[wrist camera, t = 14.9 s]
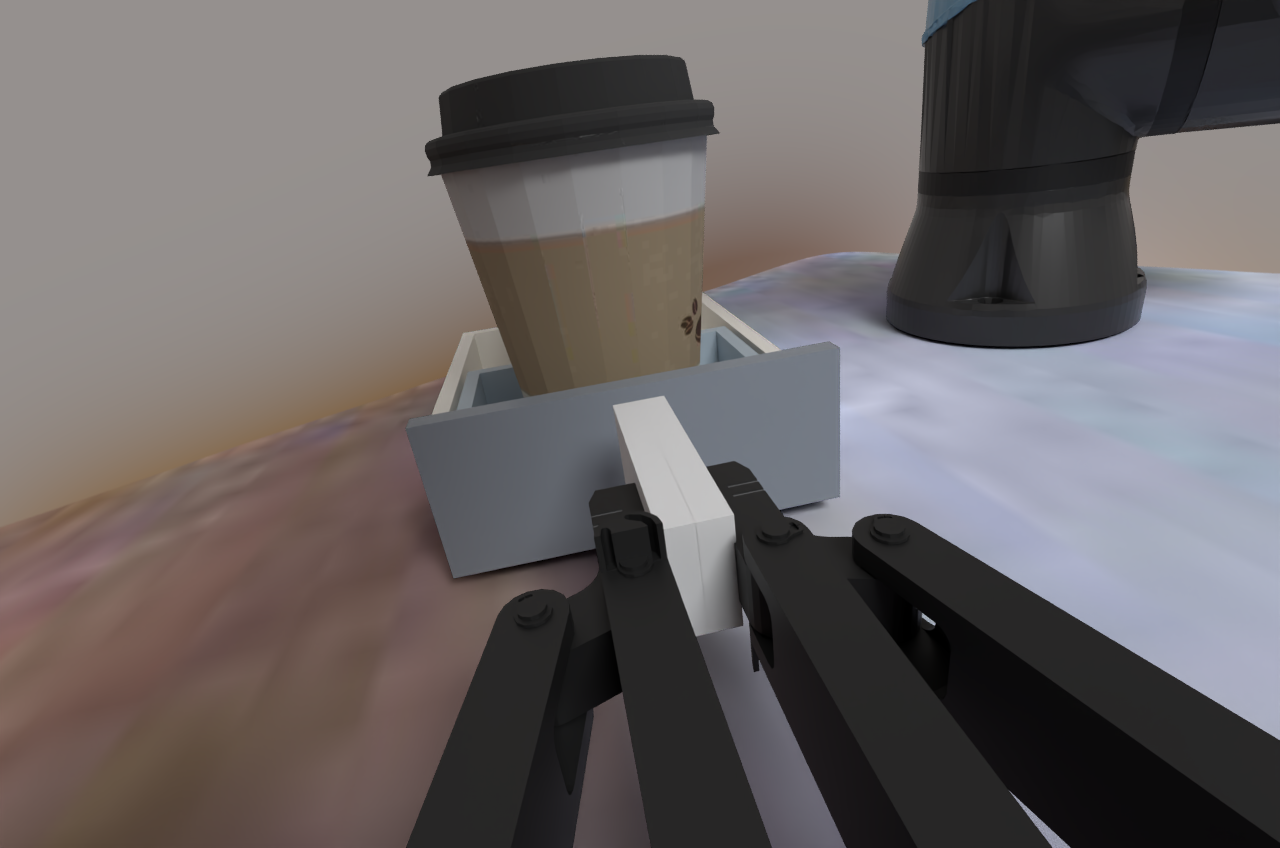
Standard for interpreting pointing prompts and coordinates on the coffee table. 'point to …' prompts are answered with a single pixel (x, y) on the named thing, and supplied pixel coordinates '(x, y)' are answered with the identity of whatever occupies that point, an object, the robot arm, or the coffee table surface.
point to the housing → (491, 352)
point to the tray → (589, 448)
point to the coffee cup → (583, 213)
